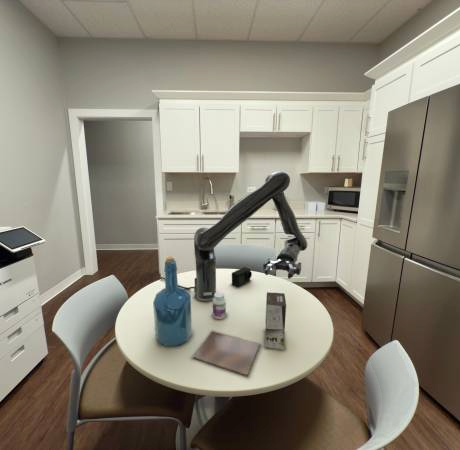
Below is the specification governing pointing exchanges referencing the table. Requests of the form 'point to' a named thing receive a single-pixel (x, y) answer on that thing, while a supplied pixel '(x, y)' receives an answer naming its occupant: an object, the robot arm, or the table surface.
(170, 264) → the wine bottle
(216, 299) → the pill bottle
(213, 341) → the wooden board
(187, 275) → the table surface
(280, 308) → the coffee box
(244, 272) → the digital camera
